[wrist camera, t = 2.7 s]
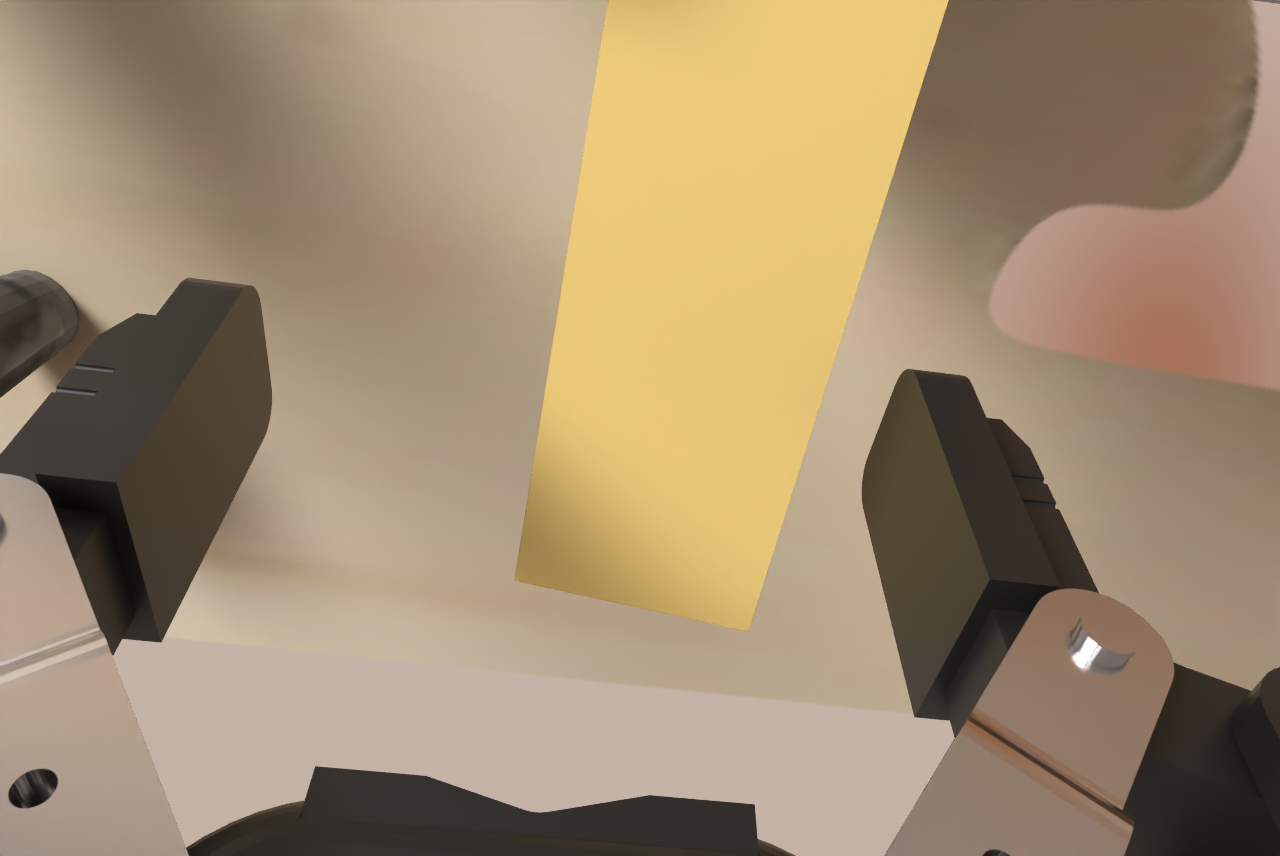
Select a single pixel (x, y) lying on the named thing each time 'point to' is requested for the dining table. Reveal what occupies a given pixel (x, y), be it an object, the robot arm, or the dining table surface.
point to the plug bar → (711, 286)
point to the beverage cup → (31, 324)
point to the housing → (1272, 0)
